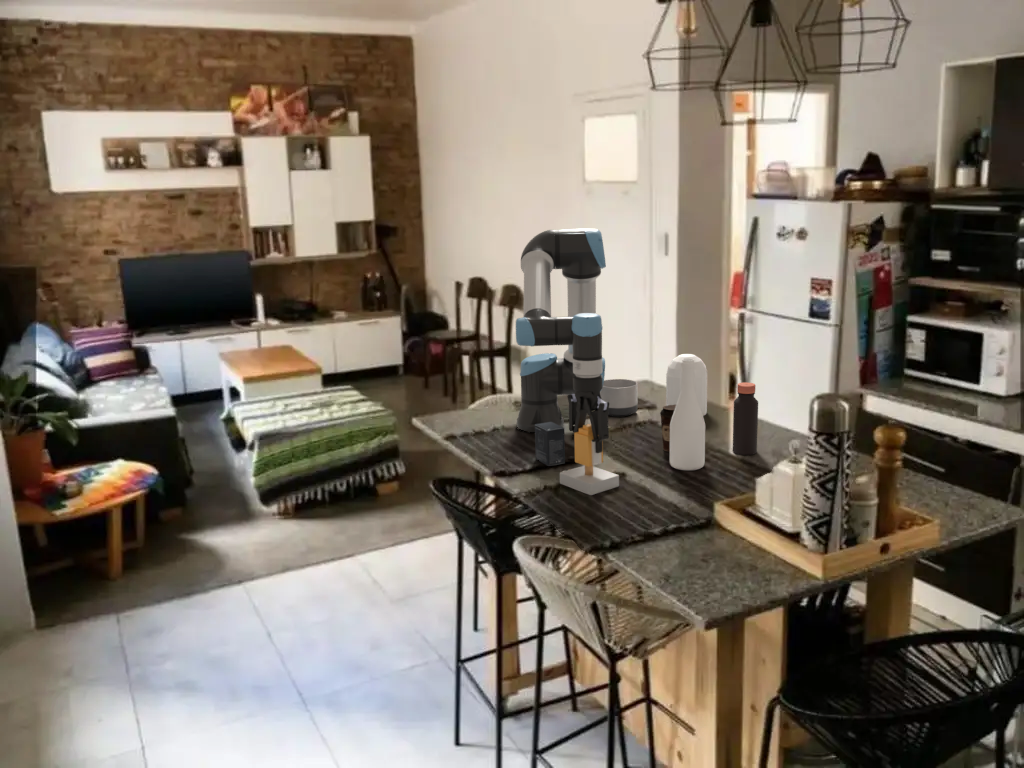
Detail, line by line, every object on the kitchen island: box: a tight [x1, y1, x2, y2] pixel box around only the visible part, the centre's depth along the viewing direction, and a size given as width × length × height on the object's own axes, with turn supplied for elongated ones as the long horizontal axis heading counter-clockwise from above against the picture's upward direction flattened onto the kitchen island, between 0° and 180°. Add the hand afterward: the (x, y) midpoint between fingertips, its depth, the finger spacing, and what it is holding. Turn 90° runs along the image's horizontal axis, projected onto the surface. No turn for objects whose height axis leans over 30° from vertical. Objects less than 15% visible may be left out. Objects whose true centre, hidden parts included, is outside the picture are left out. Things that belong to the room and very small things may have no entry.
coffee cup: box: [659, 405, 676, 453], centre depth 262 cm, size 9×8×13 cm
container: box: [665, 353, 708, 417], centre depth 300 cm, size 14×13×20 cm
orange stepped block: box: [573, 423, 604, 467], centre depth 235 cm, size 5×5×10 cm
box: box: [534, 422, 566, 467], centre depth 256 cm, size 8×6×11 cm
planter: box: [600, 378, 639, 418], centre depth 303 cm, size 13×13×10 cm
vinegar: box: [732, 381, 759, 456], centre depth 257 cm, size 7×7×20 cm
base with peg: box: [559, 465, 620, 496], centre depth 238 cm, size 15×10×8 cm, turn 37°
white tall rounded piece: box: [669, 359, 706, 471], centre depth 246 cm, size 10×10×30 cm
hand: (588, 461), depth 236 cm, fingers closed on orange stepped block, 5 cm apart
